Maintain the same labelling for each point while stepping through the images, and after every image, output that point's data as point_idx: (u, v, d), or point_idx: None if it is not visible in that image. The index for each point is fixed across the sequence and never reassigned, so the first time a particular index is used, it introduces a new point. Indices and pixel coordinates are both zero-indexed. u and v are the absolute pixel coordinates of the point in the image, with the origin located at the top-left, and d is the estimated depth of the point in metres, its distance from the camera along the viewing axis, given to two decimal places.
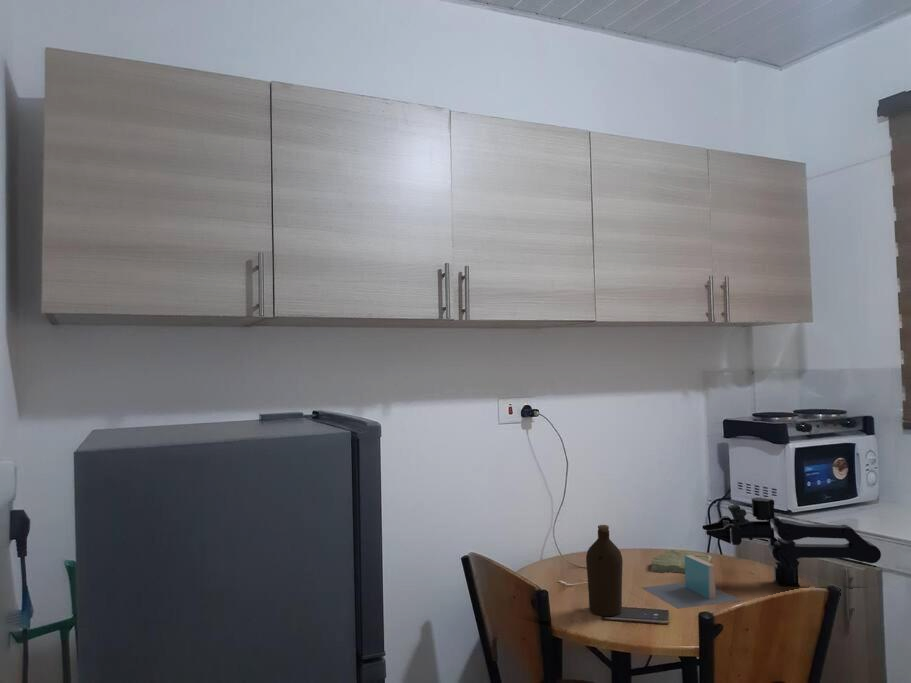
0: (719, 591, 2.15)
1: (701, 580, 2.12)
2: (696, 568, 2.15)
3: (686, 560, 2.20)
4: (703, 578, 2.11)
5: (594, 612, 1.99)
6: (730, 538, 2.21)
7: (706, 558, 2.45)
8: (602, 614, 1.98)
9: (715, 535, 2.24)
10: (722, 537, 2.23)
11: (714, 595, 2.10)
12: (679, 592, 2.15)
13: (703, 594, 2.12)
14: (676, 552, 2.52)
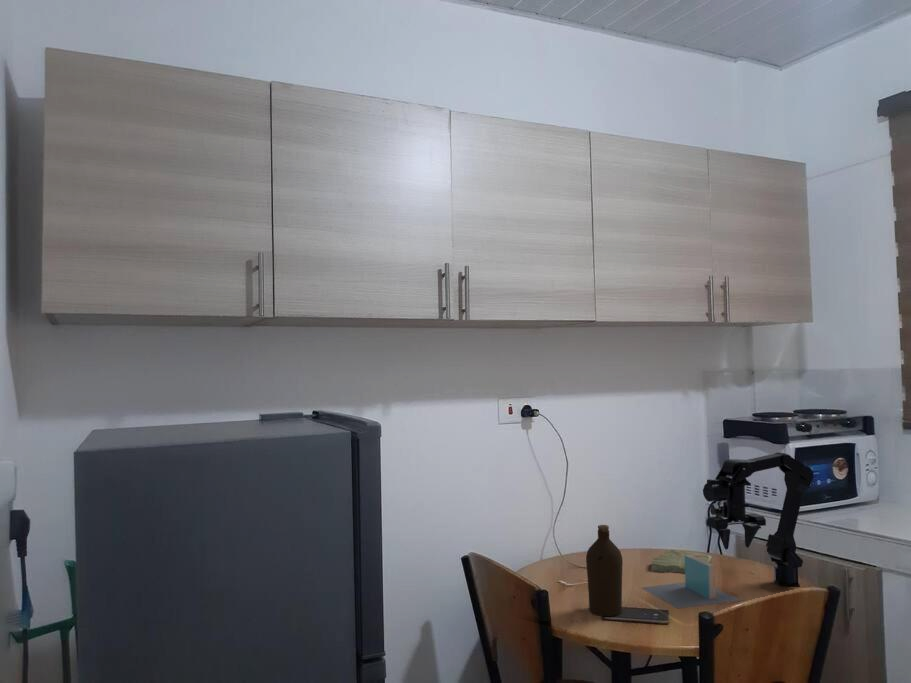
0: (719, 591, 2.15)
1: (701, 580, 2.12)
2: (696, 568, 2.15)
3: (686, 560, 2.20)
4: (703, 578, 2.11)
5: (594, 612, 1.99)
6: (719, 529, 2.17)
7: (706, 558, 2.45)
8: (602, 614, 1.98)
9: (724, 541, 2.17)
10: (724, 535, 2.17)
11: (714, 595, 2.10)
12: (679, 592, 2.15)
13: (703, 594, 2.12)
14: (676, 552, 2.52)
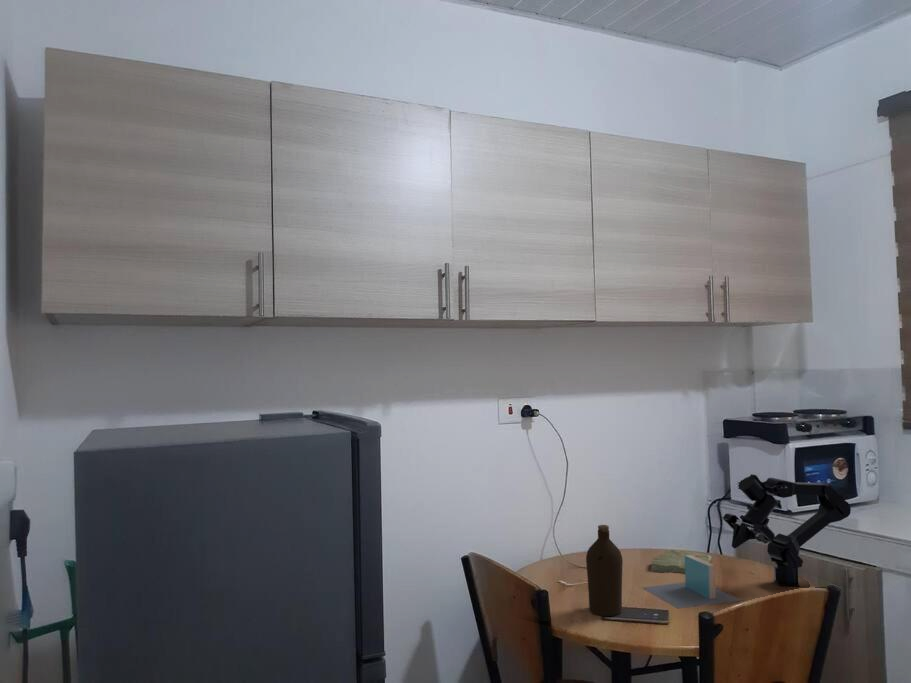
0: (719, 591, 2.15)
1: (701, 580, 2.12)
2: (696, 568, 2.15)
3: (686, 560, 2.20)
4: (703, 578, 2.11)
5: (594, 612, 1.99)
6: None
7: (706, 558, 2.45)
8: (602, 614, 1.98)
9: None
10: None
11: (714, 595, 2.10)
12: (679, 592, 2.15)
13: (703, 594, 2.12)
14: (676, 552, 2.52)
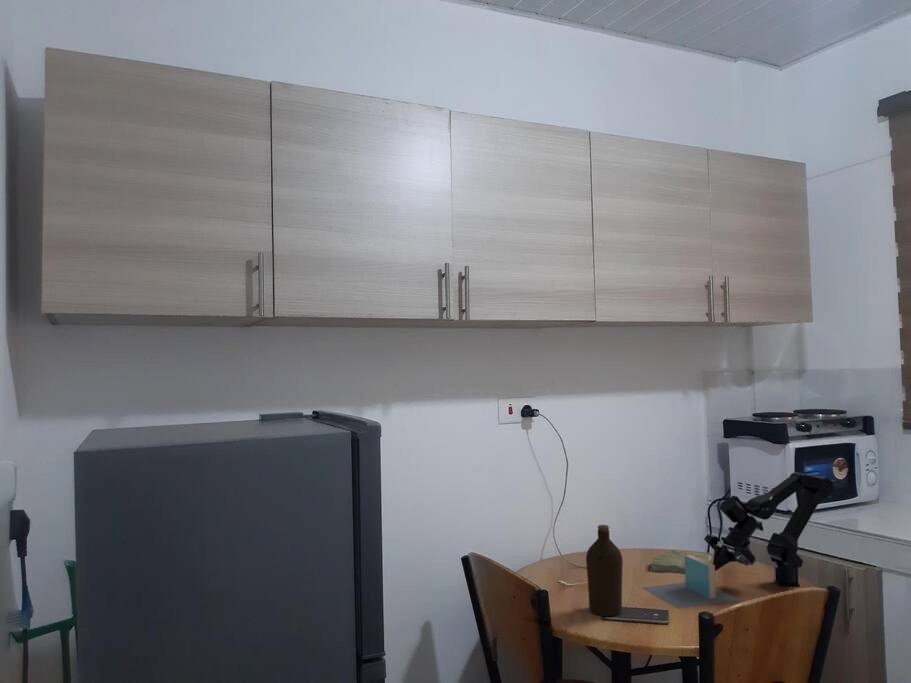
0: (719, 591, 2.15)
1: (701, 580, 2.12)
2: (696, 568, 2.15)
3: (686, 560, 2.20)
4: (703, 578, 2.11)
5: (594, 612, 1.99)
6: None
7: (706, 558, 2.45)
8: (602, 614, 1.98)
9: None
10: None
11: (714, 595, 2.10)
12: (679, 592, 2.15)
13: (703, 594, 2.12)
14: (676, 552, 2.52)
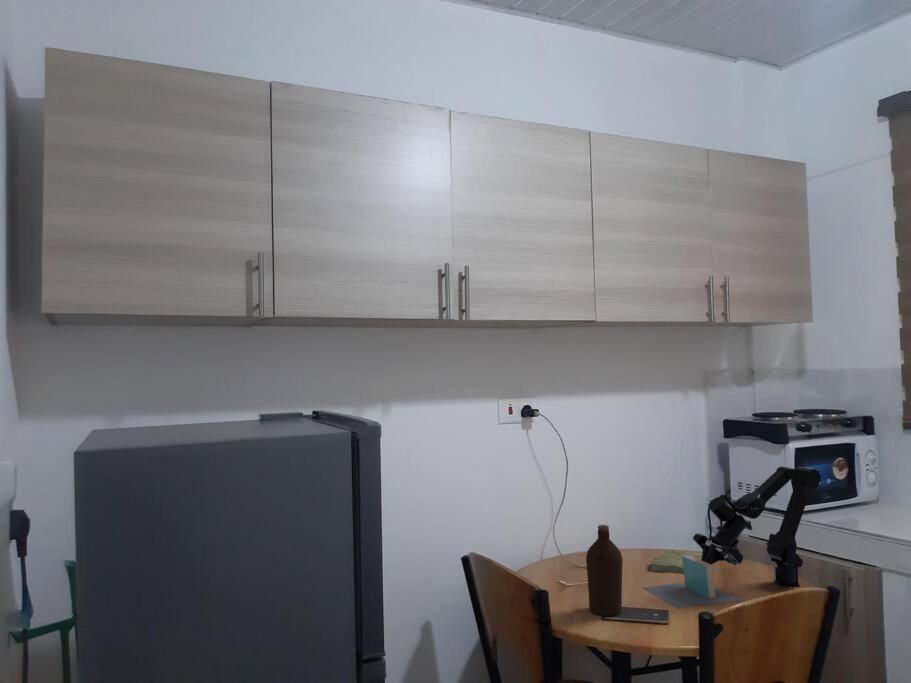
0: (719, 591, 2.15)
1: (700, 580, 2.12)
2: (694, 568, 2.15)
3: (684, 560, 2.20)
4: (702, 578, 2.11)
5: (594, 612, 1.99)
6: None
7: None
8: (602, 614, 1.98)
9: None
10: None
11: (714, 594, 2.10)
12: (679, 592, 2.15)
13: (703, 594, 2.12)
14: (676, 552, 2.53)
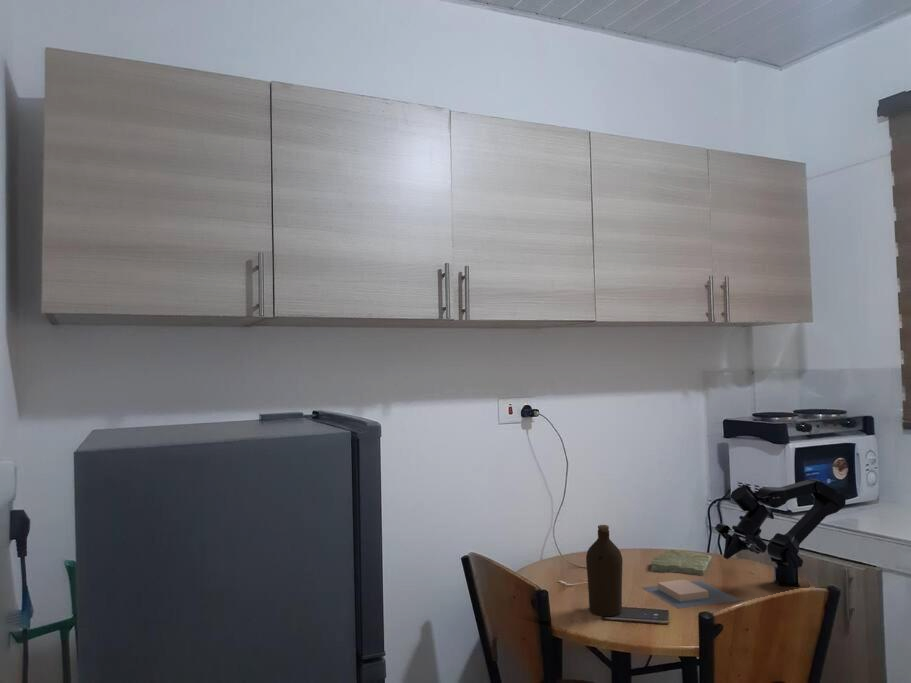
0: (719, 591, 2.15)
1: None
2: None
3: None
4: None
5: (594, 612, 1.99)
6: None
7: (706, 558, 2.45)
8: (602, 614, 1.98)
9: None
10: None
11: (706, 592, 2.09)
12: None
13: None
14: (676, 552, 2.52)
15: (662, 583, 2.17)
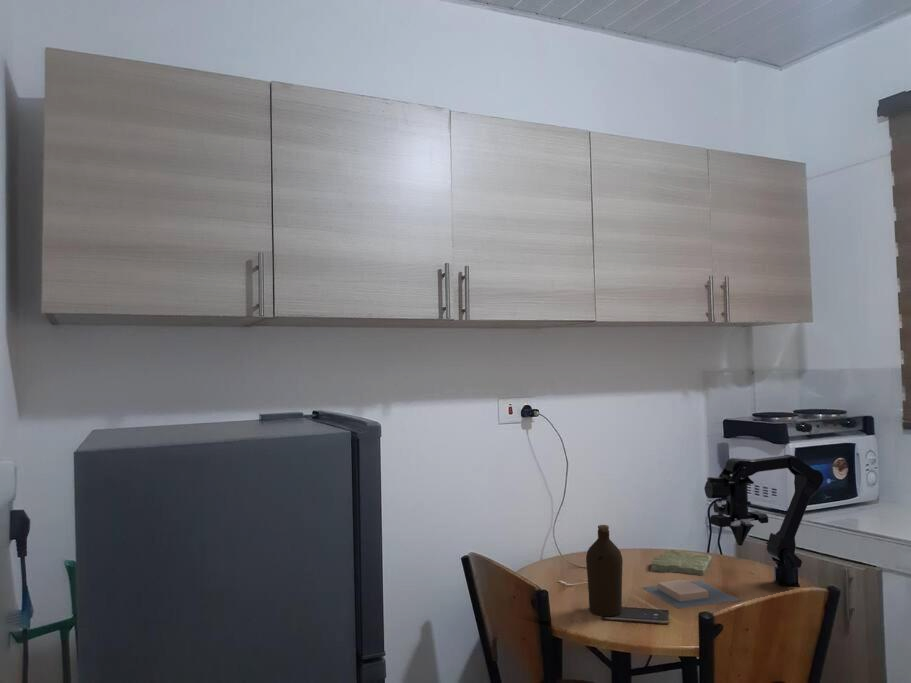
0: (719, 591, 2.15)
1: None
2: None
3: None
4: None
5: (594, 612, 1.99)
6: (732, 525, 2.21)
7: (706, 558, 2.45)
8: (602, 614, 1.98)
9: (738, 538, 2.22)
10: (737, 532, 2.22)
11: (706, 592, 2.09)
12: None
13: None
14: (676, 552, 2.53)
15: (662, 583, 2.17)
